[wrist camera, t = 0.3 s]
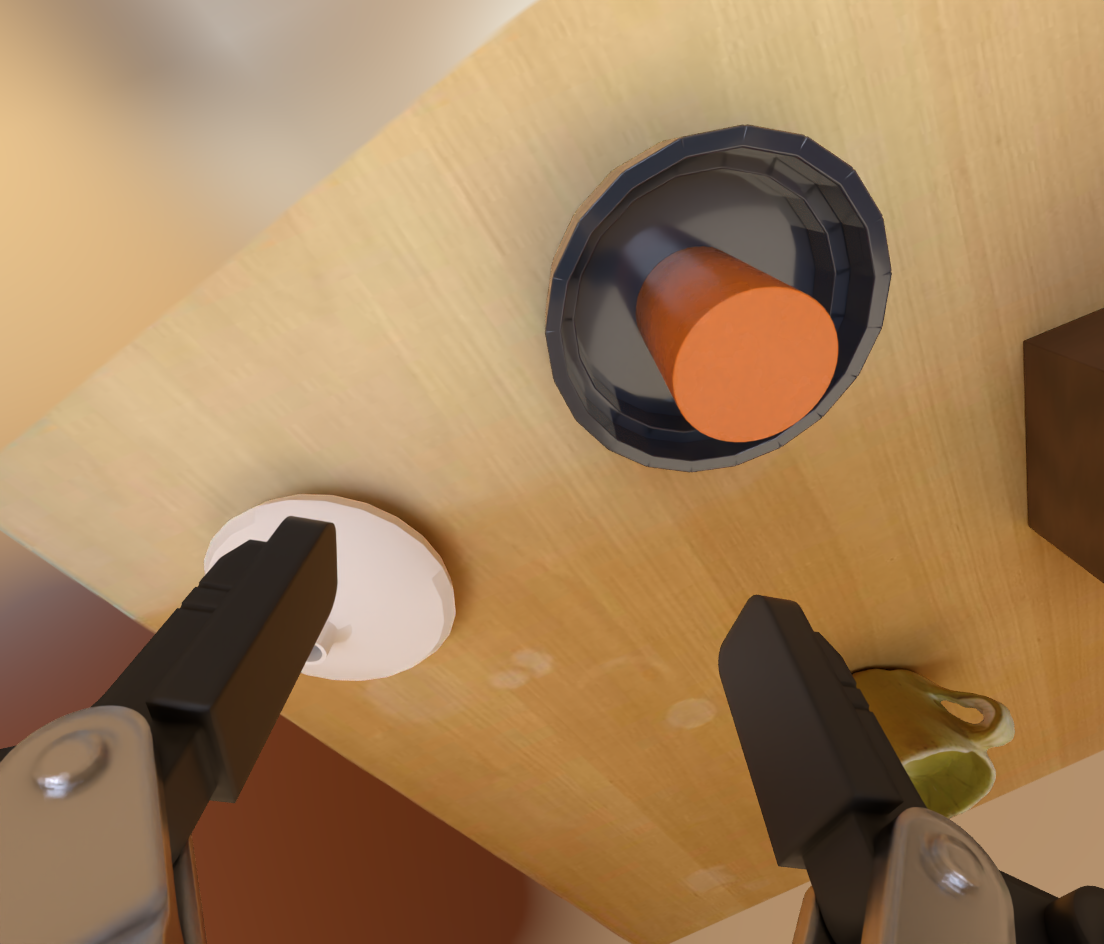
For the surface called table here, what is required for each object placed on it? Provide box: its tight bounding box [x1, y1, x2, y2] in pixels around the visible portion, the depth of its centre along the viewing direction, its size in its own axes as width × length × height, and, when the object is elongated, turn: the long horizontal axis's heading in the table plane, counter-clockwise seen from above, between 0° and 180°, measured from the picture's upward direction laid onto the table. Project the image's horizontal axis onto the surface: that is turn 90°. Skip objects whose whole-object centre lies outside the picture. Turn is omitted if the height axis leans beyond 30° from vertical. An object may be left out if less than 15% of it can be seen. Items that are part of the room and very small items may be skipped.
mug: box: [852, 669, 1015, 819], centre depth 39 cm, size 12×10×10 cm
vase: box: [204, 494, 456, 681], centre depth 32 cm, size 16×16×7 cm
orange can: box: [636, 246, 838, 442], centre depth 21 cm, size 6×6×9 cm
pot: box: [545, 125, 892, 472], centre depth 23 cm, size 14×14×4 cm
